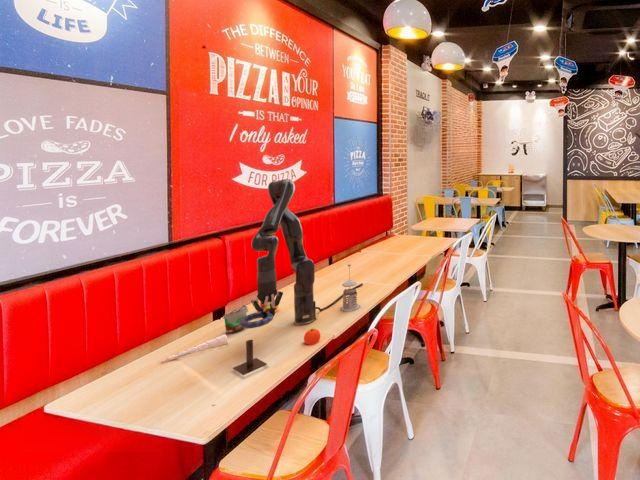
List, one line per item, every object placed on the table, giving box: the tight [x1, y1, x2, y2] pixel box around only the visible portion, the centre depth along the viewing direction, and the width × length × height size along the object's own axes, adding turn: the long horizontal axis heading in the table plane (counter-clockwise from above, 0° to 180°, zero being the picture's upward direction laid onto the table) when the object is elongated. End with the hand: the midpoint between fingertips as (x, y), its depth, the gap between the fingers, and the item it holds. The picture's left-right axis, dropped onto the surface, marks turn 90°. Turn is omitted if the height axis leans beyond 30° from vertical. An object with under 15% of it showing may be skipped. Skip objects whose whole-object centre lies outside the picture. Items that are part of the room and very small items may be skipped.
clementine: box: [303, 327, 321, 345], centre depth 175 cm, size 8×7×7 cm
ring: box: [239, 312, 274, 329], centre depth 167 cm, size 13×13×3 cm
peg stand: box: [232, 339, 268, 376], centre depth 154 cm, size 9×9×12 cm
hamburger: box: [256, 296, 279, 313], centre depth 212 cm, size 12×12×9 cm
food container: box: [222, 304, 249, 335], centre depth 191 cm, size 12×6×10 cm, turn 168°
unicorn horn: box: [159, 334, 228, 363], centre depth 168 cm, size 5×24×5 cm, turn 127°
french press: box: [340, 263, 360, 312], centre depth 215 cm, size 10×12×25 cm
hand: (268, 317), depth 172 cm, fingers closed on ring, 2 cm apart
